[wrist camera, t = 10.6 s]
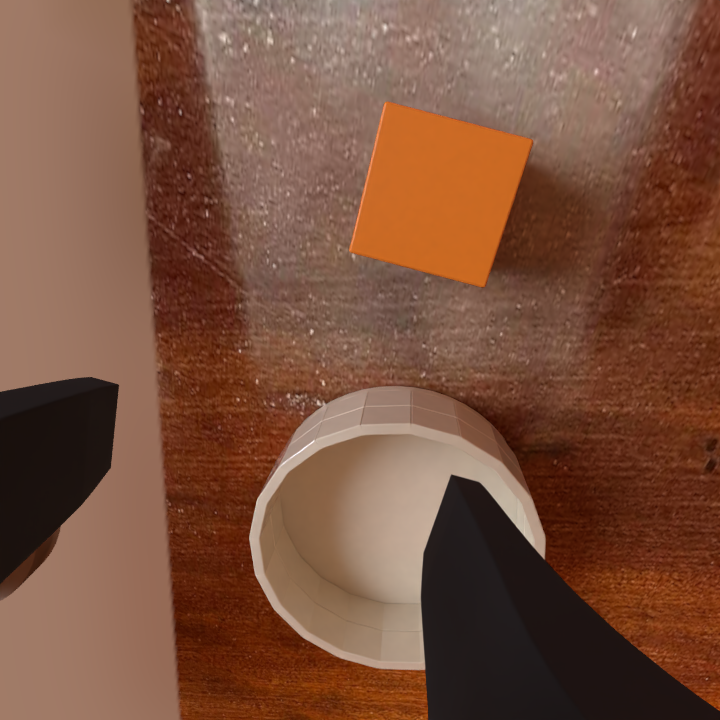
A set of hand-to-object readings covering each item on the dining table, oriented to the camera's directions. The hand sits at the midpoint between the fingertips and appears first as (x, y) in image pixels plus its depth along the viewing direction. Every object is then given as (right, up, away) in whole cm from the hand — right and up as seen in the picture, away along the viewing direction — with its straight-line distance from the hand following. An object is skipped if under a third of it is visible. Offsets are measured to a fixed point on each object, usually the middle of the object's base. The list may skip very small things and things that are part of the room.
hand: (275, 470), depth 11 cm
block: (+4, +8, +7) cm, 11 cm away
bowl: (+3, -4, +11) cm, 12 cm away
